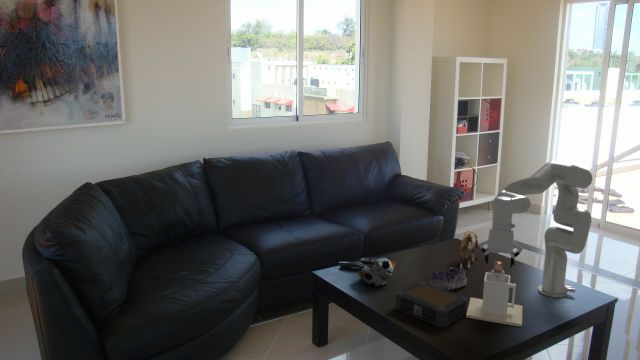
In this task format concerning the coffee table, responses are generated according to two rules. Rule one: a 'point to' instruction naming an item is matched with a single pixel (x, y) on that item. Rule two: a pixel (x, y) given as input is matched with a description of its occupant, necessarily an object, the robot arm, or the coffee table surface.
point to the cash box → (432, 304)
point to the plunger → (498, 270)
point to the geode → (449, 278)
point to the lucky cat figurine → (377, 271)
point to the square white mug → (496, 302)
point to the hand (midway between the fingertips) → (499, 264)
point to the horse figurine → (468, 246)
